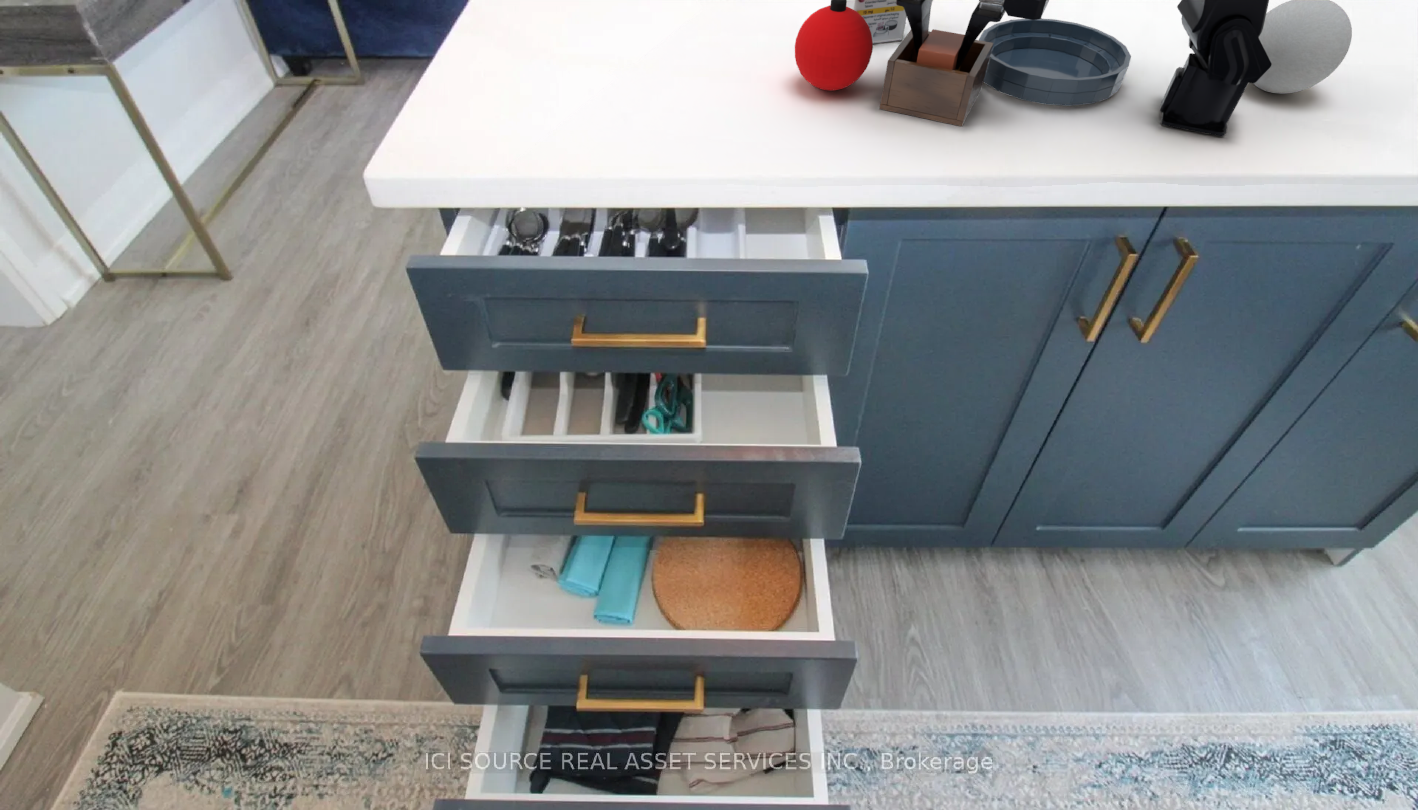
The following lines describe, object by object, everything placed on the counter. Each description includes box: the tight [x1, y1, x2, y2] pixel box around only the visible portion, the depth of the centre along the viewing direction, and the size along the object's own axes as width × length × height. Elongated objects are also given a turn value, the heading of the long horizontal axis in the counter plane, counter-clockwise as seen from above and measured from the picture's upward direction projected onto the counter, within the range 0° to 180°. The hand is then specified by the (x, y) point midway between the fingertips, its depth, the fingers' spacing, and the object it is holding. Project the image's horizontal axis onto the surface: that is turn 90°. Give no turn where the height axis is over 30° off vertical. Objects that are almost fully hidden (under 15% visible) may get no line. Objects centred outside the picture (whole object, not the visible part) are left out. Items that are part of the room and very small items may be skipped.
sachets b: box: [916, 28, 965, 70], centre depth 85 cm, size 4×6×3 cm, turn 154°
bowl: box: [978, 18, 1132, 107], centre depth 91 cm, size 17×17×4 cm
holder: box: [879, 29, 993, 127], centre depth 86 cm, size 10×10×6 cm
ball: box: [1252, 0, 1353, 94], centre depth 86 cm, size 10×10×10 cm
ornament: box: [794, 0, 874, 91], centre depth 87 cm, size 9×9×10 cm
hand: (938, 64), depth 86 cm, fingers closed on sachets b, 4 cm apart
